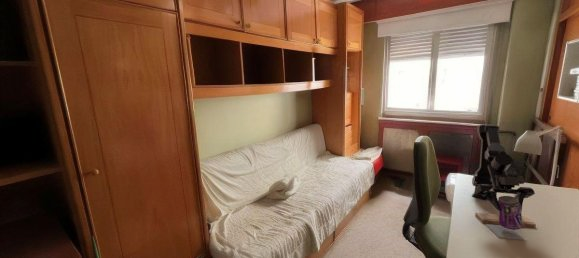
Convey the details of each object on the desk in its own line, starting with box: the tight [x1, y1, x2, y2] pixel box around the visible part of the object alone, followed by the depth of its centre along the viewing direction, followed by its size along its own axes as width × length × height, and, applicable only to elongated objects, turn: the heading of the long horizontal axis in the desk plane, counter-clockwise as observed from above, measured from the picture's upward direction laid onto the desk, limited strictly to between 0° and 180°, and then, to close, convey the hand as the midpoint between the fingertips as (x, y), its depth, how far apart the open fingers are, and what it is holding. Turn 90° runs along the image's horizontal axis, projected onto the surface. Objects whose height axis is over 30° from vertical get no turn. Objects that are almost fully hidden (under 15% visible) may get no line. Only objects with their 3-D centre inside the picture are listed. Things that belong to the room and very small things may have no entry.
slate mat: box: [485, 223, 526, 241], centre depth 102 cm, size 9×9×1 cm
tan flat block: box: [474, 212, 537, 228], centre depth 110 cm, size 20×6×2 cm, turn 79°
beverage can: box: [497, 195, 524, 231], centre depth 100 cm, size 7×7×12 cm
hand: (509, 211), depth 99 cm, fingers closed on beverage can, 7 cm apart
